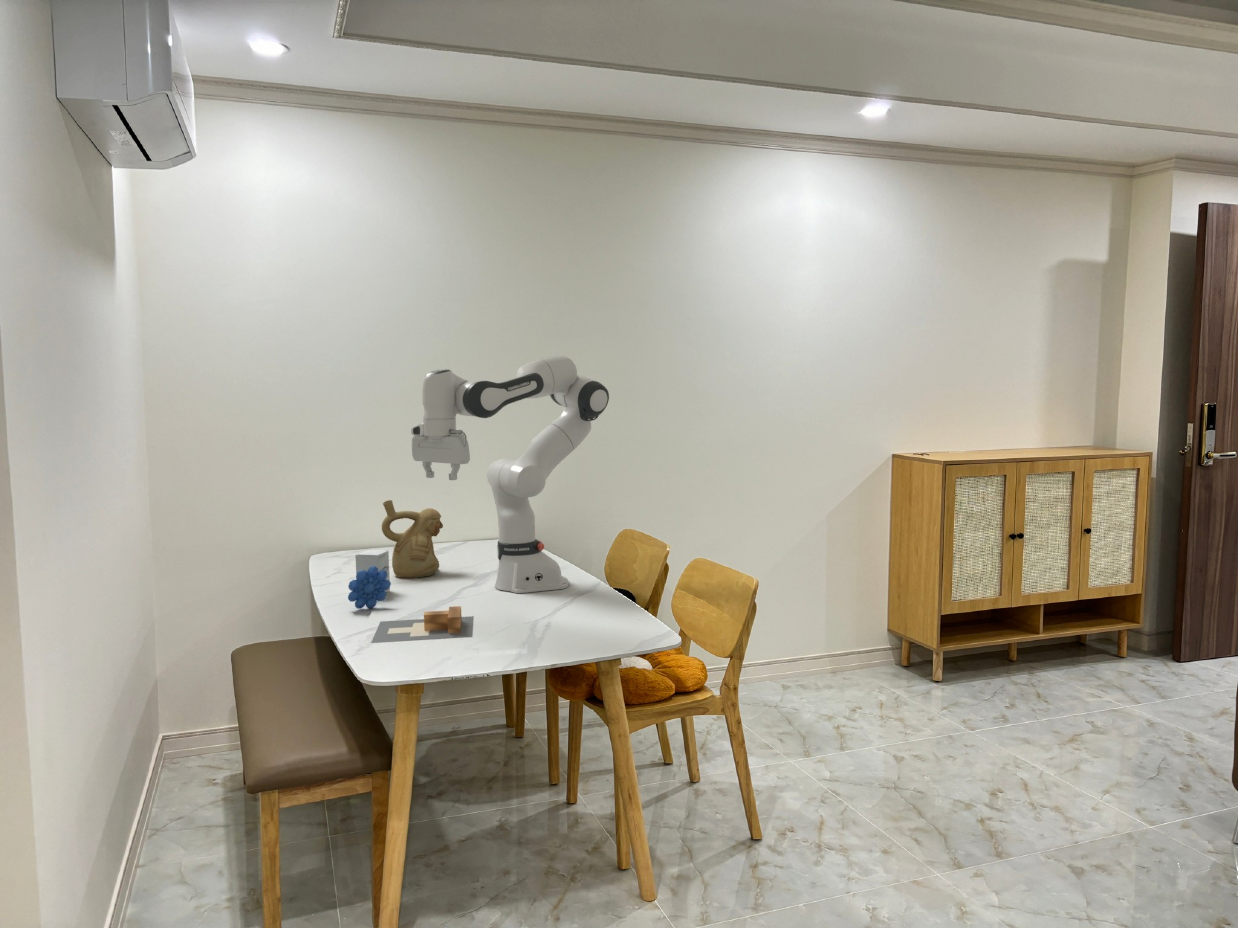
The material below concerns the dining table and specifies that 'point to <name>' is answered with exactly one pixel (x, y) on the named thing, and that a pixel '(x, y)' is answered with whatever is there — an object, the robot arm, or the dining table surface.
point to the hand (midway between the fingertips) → (441, 478)
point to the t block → (444, 620)
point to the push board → (417, 631)
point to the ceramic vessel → (413, 542)
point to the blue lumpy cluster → (368, 587)
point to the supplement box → (373, 561)
